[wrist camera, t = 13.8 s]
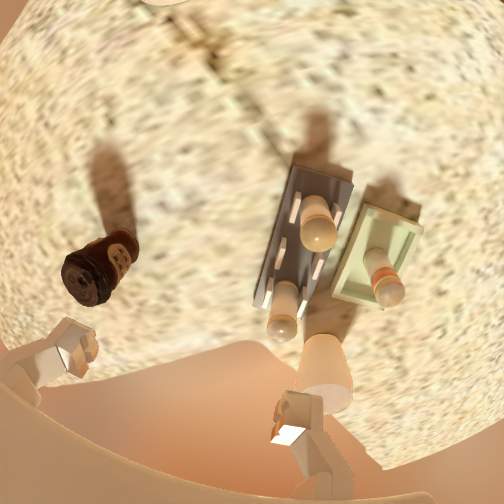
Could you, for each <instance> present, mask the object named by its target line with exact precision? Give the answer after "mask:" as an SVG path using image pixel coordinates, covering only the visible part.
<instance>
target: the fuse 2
mask: <svg viewBox="0 0 504 504" xmlns="http://www.w3.org/2000/svg"><path fill="white" fill-rule="evenodd" d="M300 223H301V229H300V237H301V241H302V243H303V245H304V246H305V247H306V248H307V249H309V250H310V251H313V252H324V251H327V250H329V249H330V248H331V247H332V246H333V245H334V244H335V242H336V240H337V229H336V226H335V224H334V222H333V219H332V216H331V213H330V211H329V207H328V204H327V202H326V200H325V199H324V198H323V197H322V196H320V195H316V194H312V195H308V196H306V197H305V198H304V199H303V200H302V201H301V203H300Z"/></svg>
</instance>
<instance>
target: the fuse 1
mask: <svg viewBox="0 0 504 504" xmlns="http://www.w3.org/2000/svg"><path fill="white" fill-rule="evenodd" d="M297 306H298V287H297V285H296V284H295V283H294V282H292V281H290V280H281V281H278V282H277V283H276V284H275V285H274V287H273V293H272V301H271V308H270V314H269V321H268V324H267V334H268V336H269V337H270V338H271V339H273V340H275V341H278V342H287V341H290V340H292V339H293V338H294V337H295V336H296V334H297Z"/></svg>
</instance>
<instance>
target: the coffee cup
mask: <svg viewBox="0 0 504 504" xmlns="http://www.w3.org/2000/svg"><path fill="white" fill-rule="evenodd" d="M138 254H139V248H138V245H137V242H136V240H135V239H134V237H133V236H132V234H130V233H129V232H128V231H127V230H125V229H115V230H114V231H113V232H112V233H111V234H110V236H108V237H106V238H98V239H97V240H95V241H93V242H91V243H89V244H87V245H86V246H85V247H84V248H83V249H81V250H77V251H75V252H72V253H71V254H69V255H67V256H66V258H65V261H64V264H63V266H62V270H61V276H62V280H63V283H64V285H65V287H66V288H67V290H68V292H69V293H70V294H71V295H72V296H73V297H74V298H75V299H76V300H77V301H78V302H79V303H80V304H82V305H83V306H86V307H93V306H96V305H100V304H103V303H105V302H106V301H107V300H108V299H109V298H110V296H111V292H112V290H114V289H115V288H116V286H117V285H118V283H119V282H120V280H121V279H122V278H123V277H124V275H125V274H126V273H127V271H128V270H129V268H130V266H131V264H132V263H134V262H135V261H136V260H137V258H138Z"/></svg>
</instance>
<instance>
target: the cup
mask: <svg viewBox="0 0 504 504" xmlns="http://www.w3.org/2000/svg"><path fill="white" fill-rule="evenodd" d="M295 392H300V393H306V394H310V395H317V396H322V398H323V415H329V414H334V413H337V412H339V411H342V410H344V409H345V408H347V407H348V406H349V405H350V404H351V402H352V400H353V381H352V377H351V374H350V371H349V368H348V365H347V361H346V358H345V355H344V352H343V350H342V347H341V344H340V341H339V340H338V338H336V337H335V336H333V335H330V334H317V335H314V336H312V337H310V338H309V339H308V340H307V341H306V342H305V344H304V347H303V352H302V356H301V361H300V365H299V370H298V374H297V378H296V383H295Z"/></svg>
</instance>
